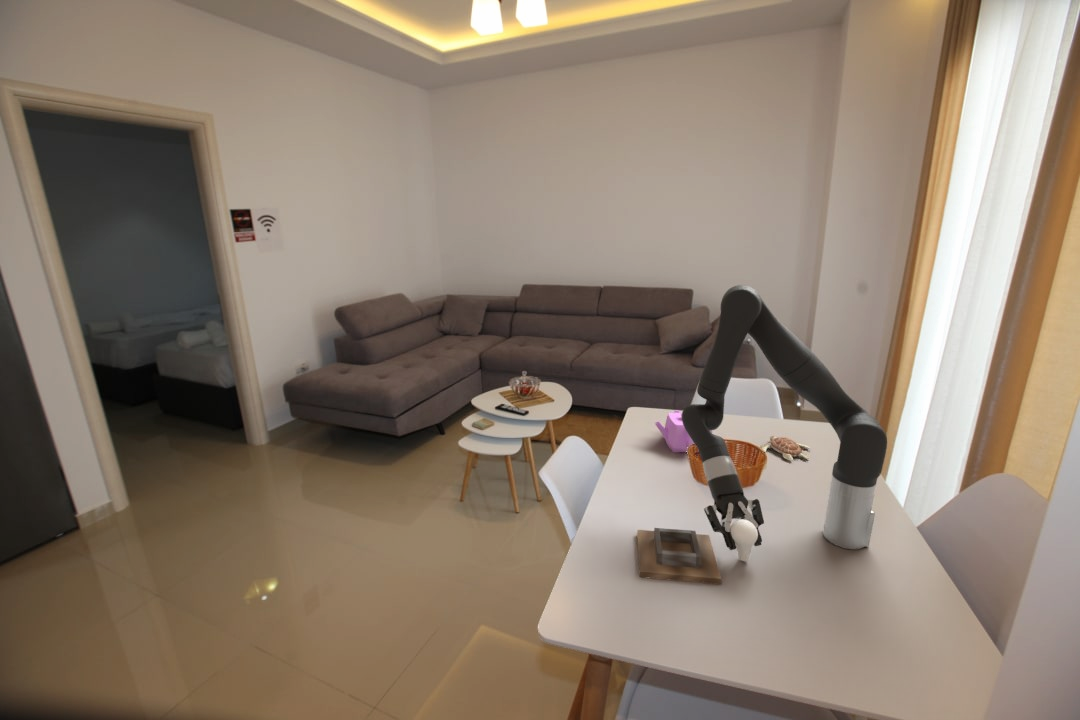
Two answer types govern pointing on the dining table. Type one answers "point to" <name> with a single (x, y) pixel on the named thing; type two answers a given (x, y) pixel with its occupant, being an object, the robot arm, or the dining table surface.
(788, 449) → the decorative turtle
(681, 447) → the teakettle
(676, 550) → the bulb holder
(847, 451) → the robot arm
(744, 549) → the lightbulb
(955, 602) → the dining table surface
